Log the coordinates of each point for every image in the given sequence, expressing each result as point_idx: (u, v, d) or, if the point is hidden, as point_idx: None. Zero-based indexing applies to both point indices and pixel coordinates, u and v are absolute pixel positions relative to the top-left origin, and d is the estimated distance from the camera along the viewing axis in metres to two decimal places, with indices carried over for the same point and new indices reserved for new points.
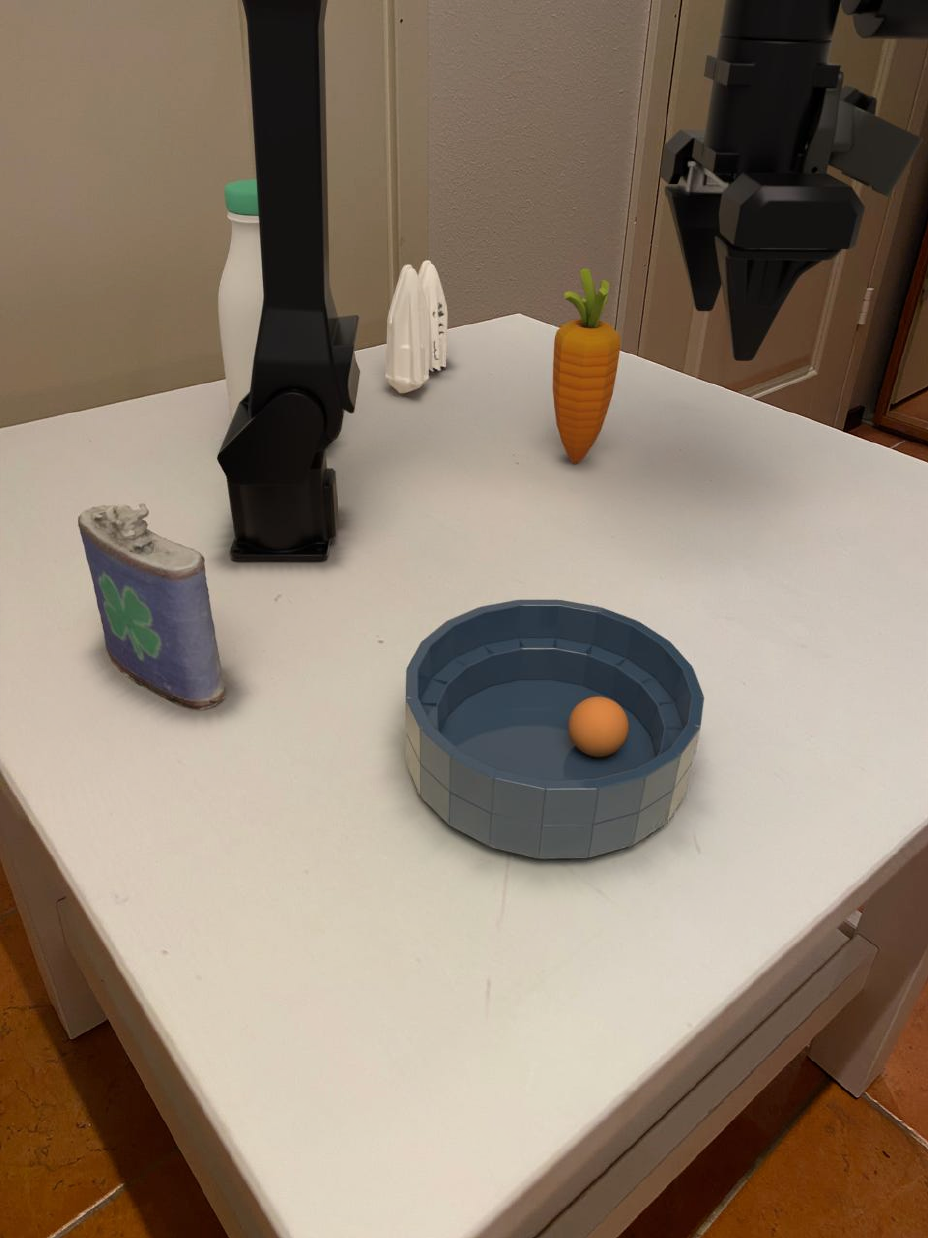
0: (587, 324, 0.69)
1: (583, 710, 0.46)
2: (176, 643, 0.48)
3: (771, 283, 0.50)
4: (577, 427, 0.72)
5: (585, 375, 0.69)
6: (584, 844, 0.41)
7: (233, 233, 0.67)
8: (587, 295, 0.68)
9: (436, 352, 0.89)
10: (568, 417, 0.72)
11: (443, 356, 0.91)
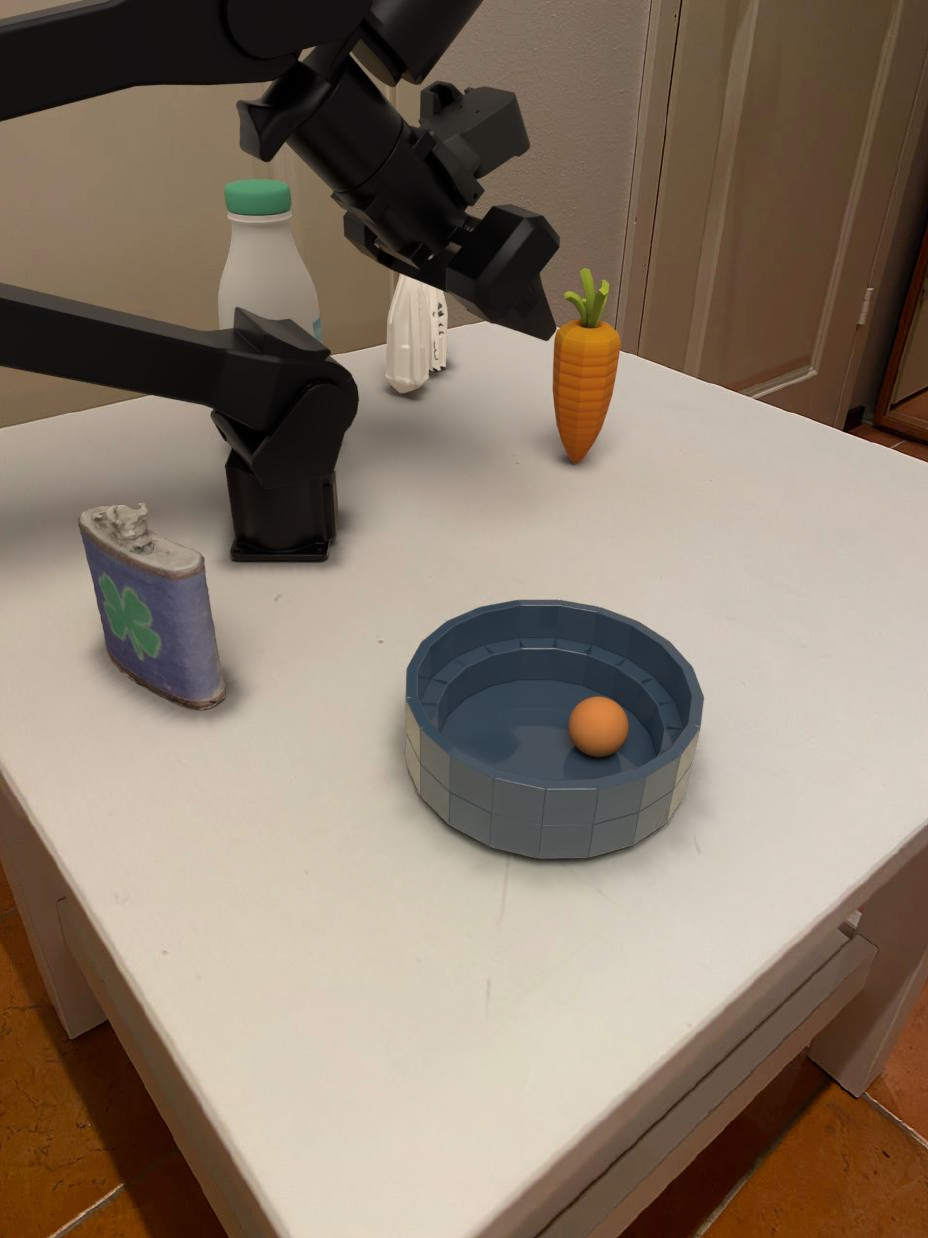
0: (587, 324, 0.69)
1: (583, 710, 0.46)
2: (176, 643, 0.48)
3: (526, 291, 0.58)
4: (577, 427, 0.72)
5: (585, 375, 0.69)
6: (584, 844, 0.41)
7: (233, 233, 0.67)
8: (587, 295, 0.68)
9: (436, 352, 0.89)
10: (568, 417, 0.72)
11: (443, 356, 0.91)
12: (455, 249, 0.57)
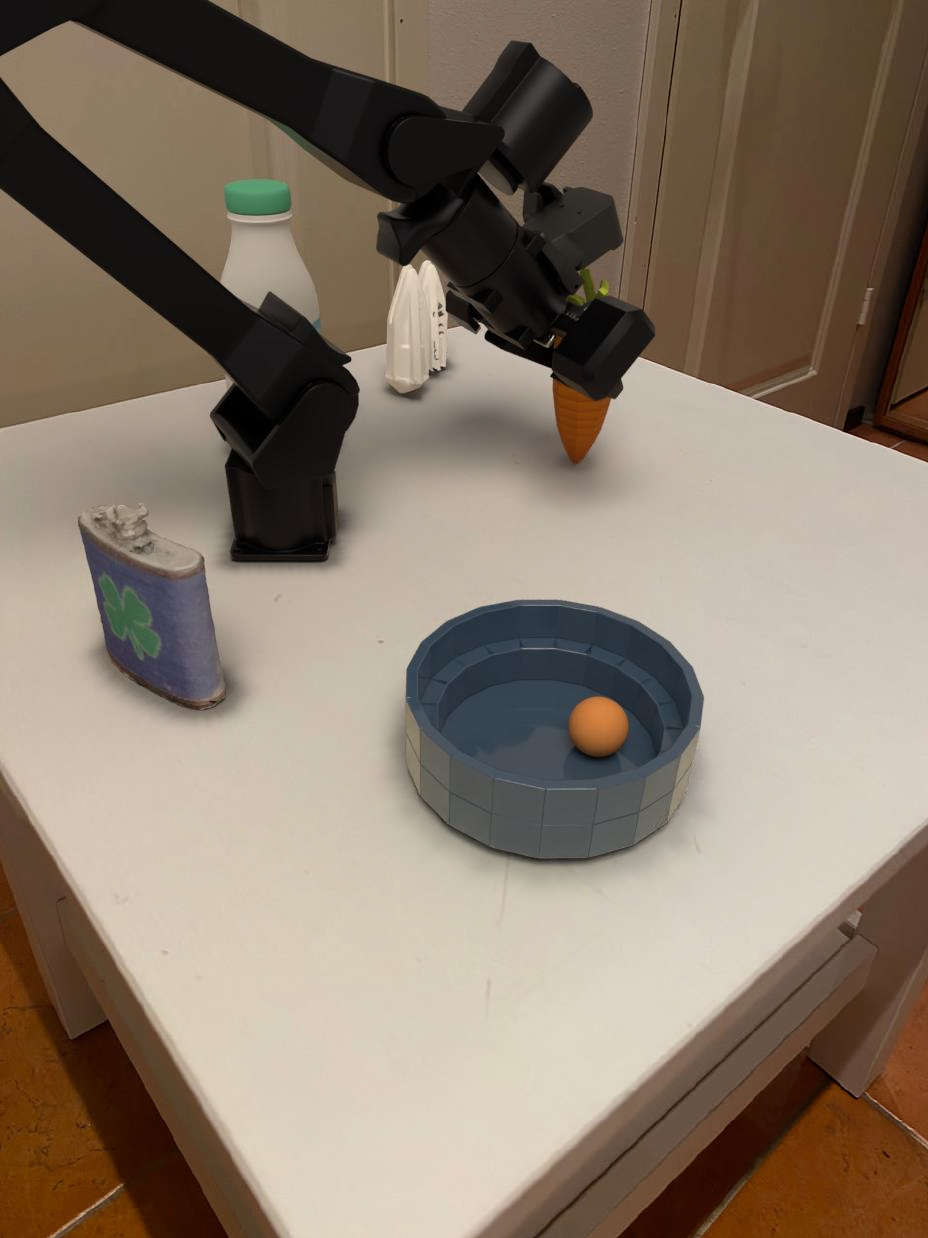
0: None
1: (583, 710, 0.46)
2: (176, 643, 0.48)
3: None
4: (577, 427, 0.72)
5: None
6: (584, 844, 0.41)
7: (233, 233, 0.67)
8: (587, 295, 0.68)
9: (436, 352, 0.89)
10: (568, 417, 0.72)
11: (443, 356, 0.91)
12: (556, 332, 0.64)
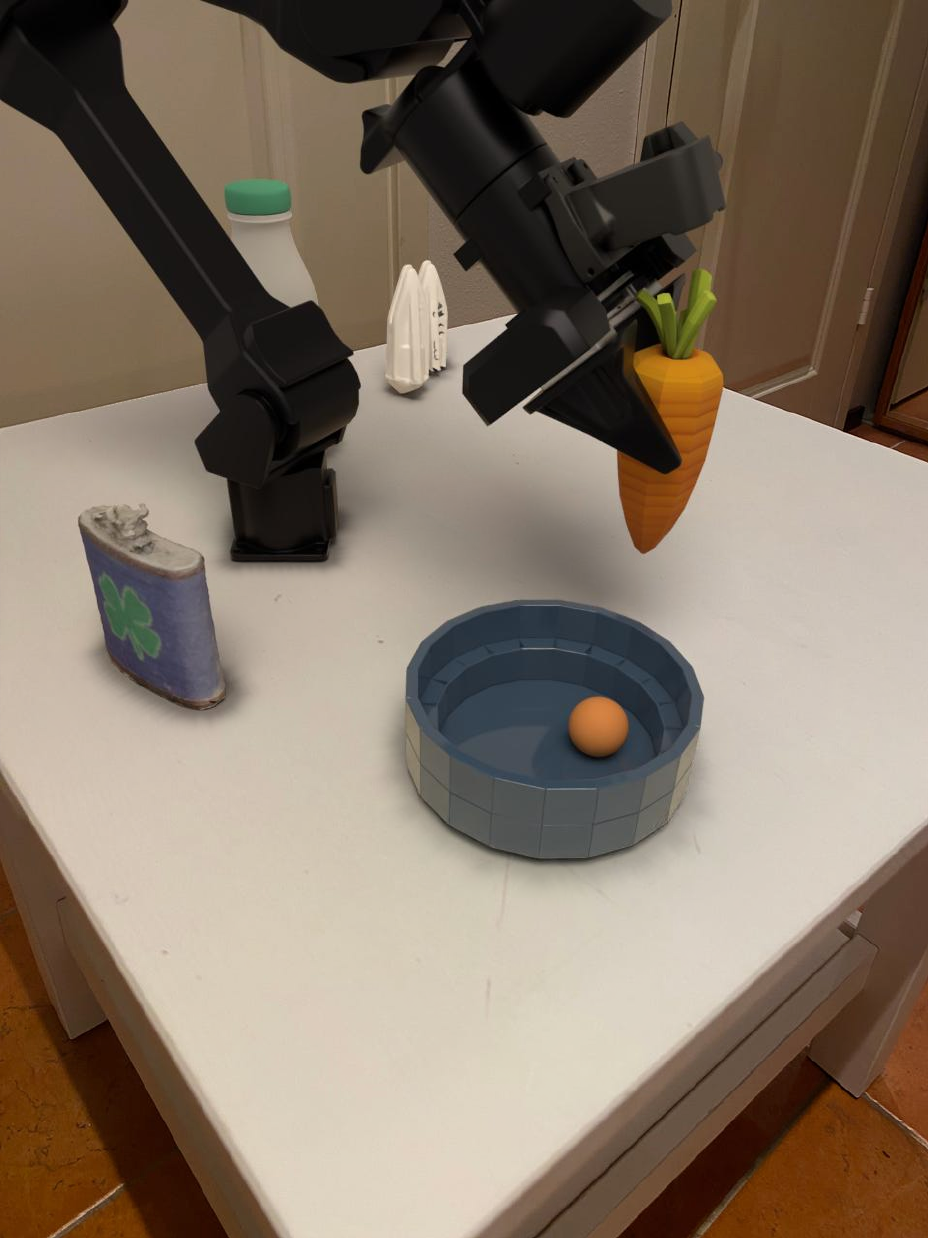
0: None
1: (583, 710, 0.46)
2: (176, 643, 0.48)
3: (615, 396, 0.43)
4: (622, 495, 0.49)
5: None
6: (584, 844, 0.41)
7: (233, 233, 0.67)
8: (687, 309, 0.44)
9: (436, 352, 0.89)
10: (619, 477, 0.49)
11: (443, 356, 0.91)
12: None
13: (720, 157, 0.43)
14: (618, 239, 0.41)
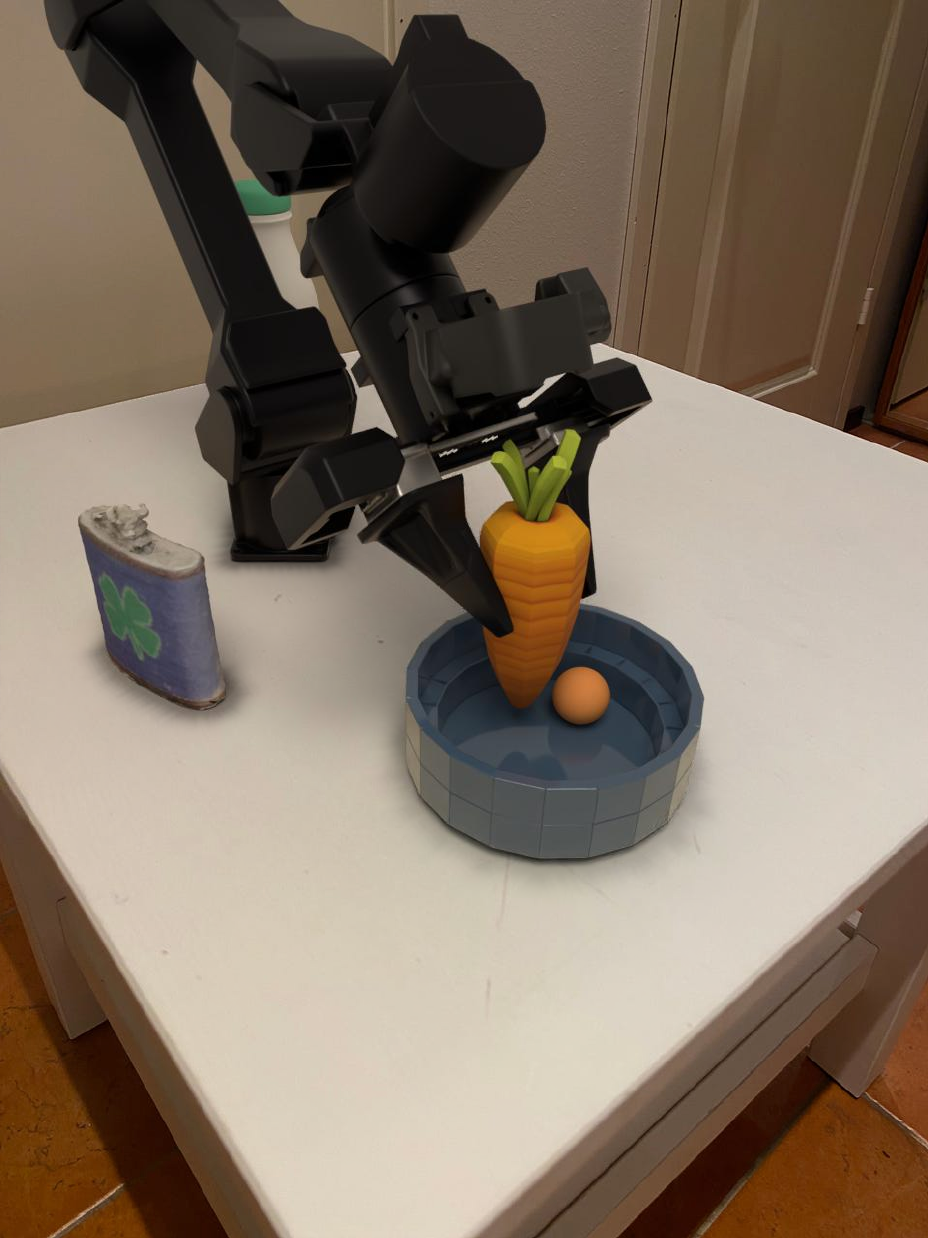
0: None
1: None
2: (176, 643, 0.48)
3: (444, 546, 0.41)
4: (486, 644, 0.45)
5: None
6: (584, 844, 0.41)
7: None
8: None
9: None
10: None
11: None
12: None
13: (604, 314, 0.38)
14: (455, 388, 0.38)
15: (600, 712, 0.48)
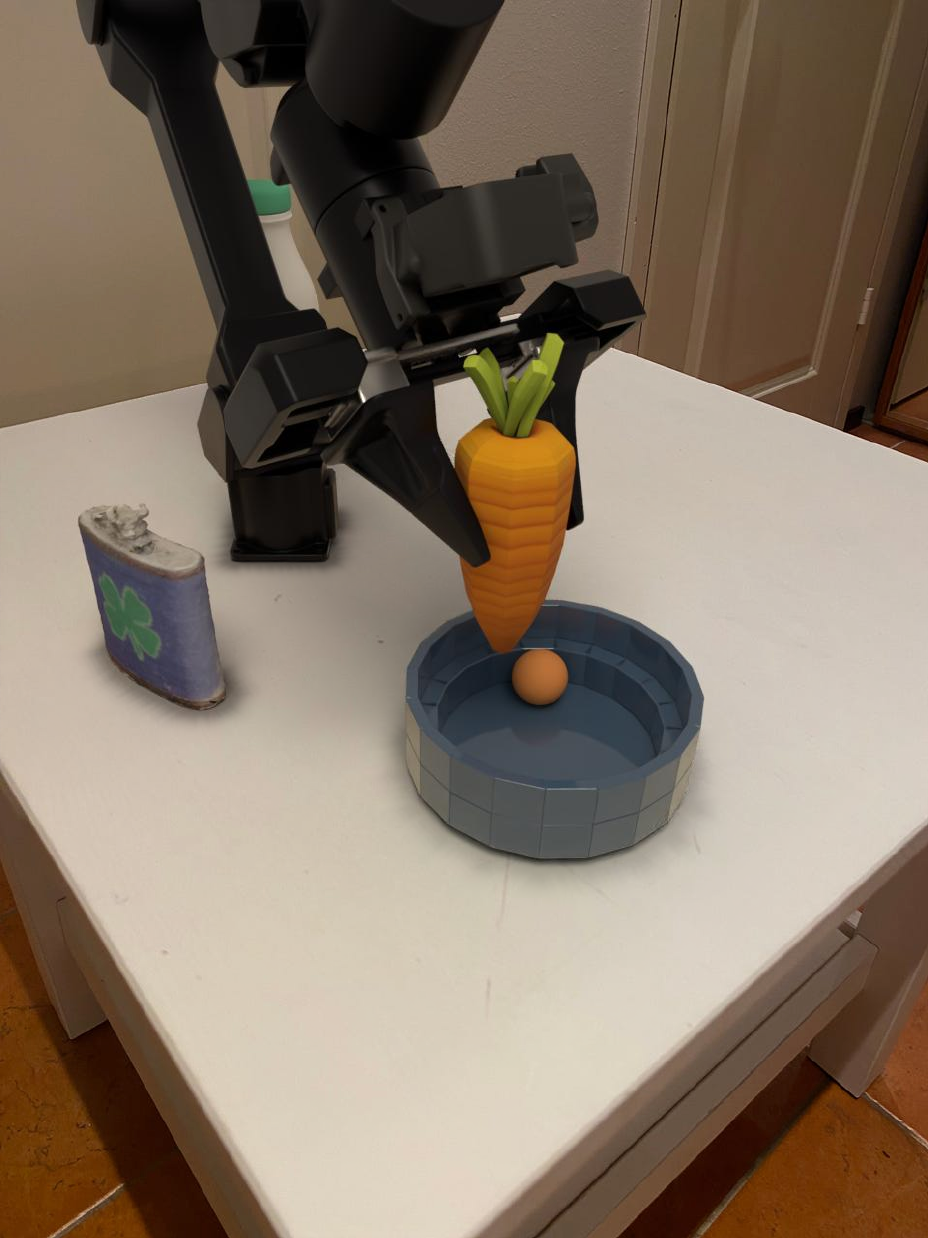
0: None
1: None
2: (176, 643, 0.48)
3: (414, 464, 0.37)
4: (464, 581, 0.42)
5: None
6: (584, 844, 0.41)
7: None
8: None
9: None
10: None
11: None
12: None
13: (589, 200, 0.34)
14: (425, 284, 0.35)
15: (536, 659, 0.49)
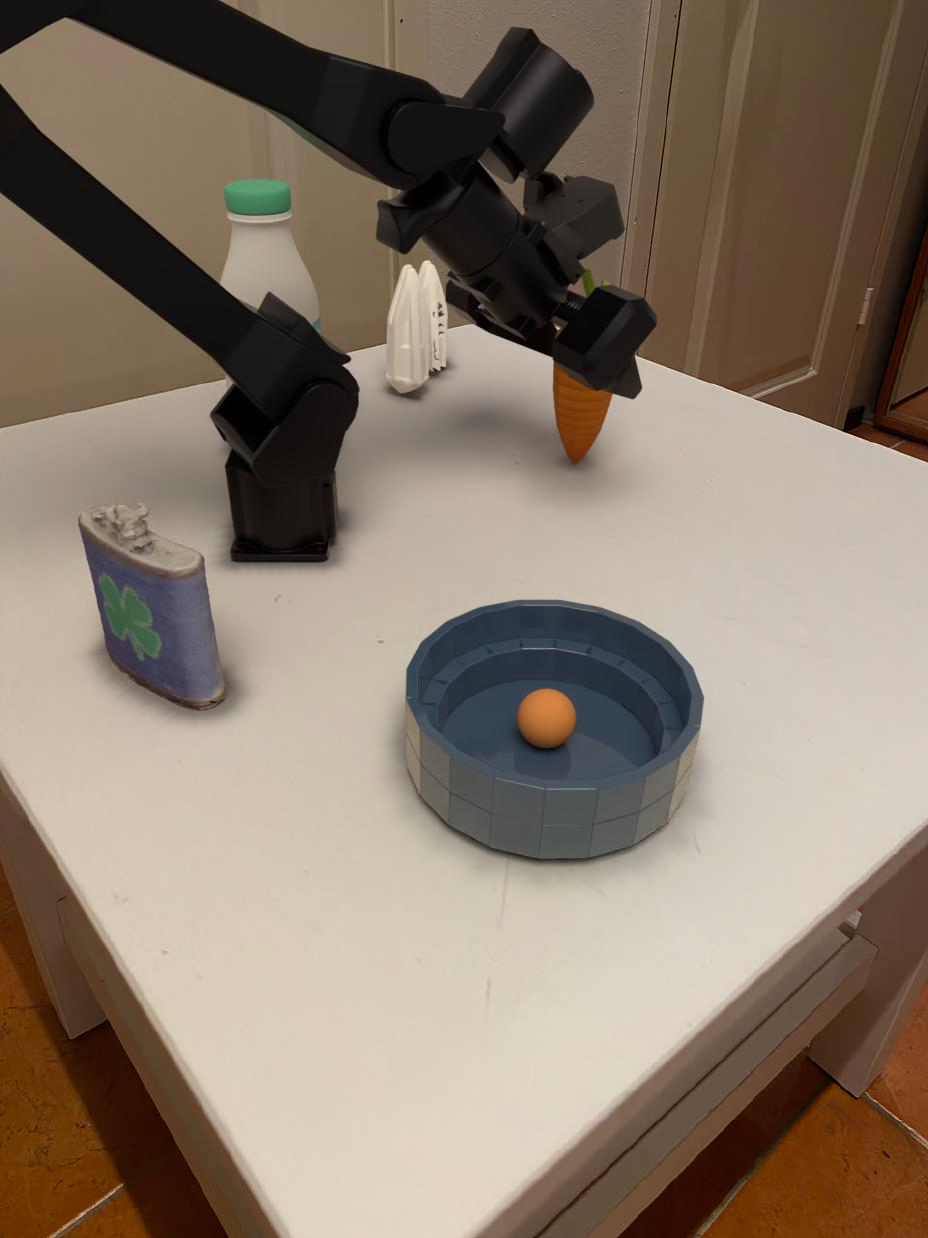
0: None
1: (561, 693, 0.47)
2: (176, 643, 0.48)
3: None
4: (577, 428, 0.72)
5: None
6: (584, 844, 0.41)
7: (233, 233, 0.67)
8: (588, 295, 0.68)
9: (436, 352, 0.89)
10: (568, 417, 0.72)
11: (443, 356, 0.91)
12: (557, 321, 0.64)
13: None
14: (586, 251, 0.63)
15: (540, 747, 0.47)
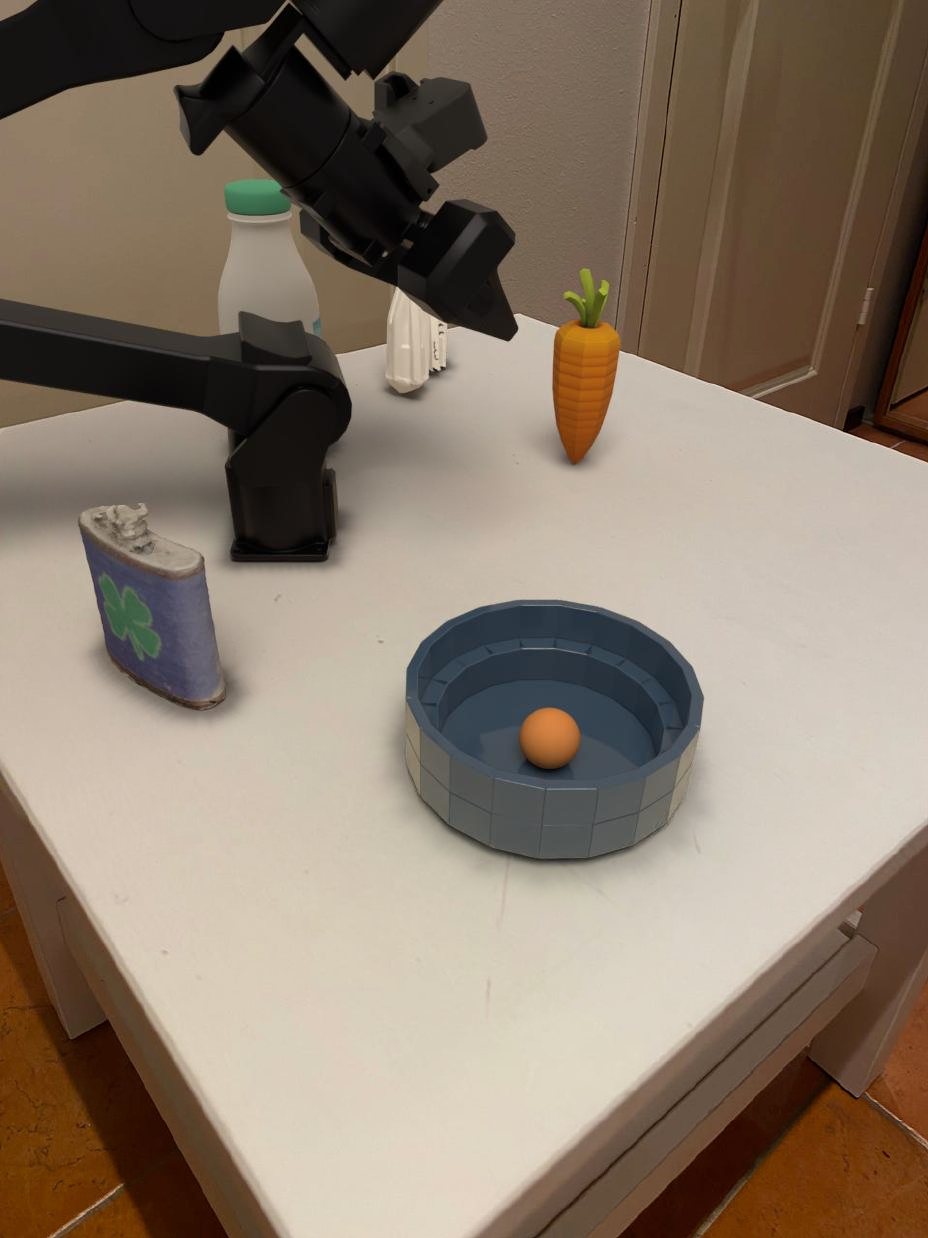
0: (587, 324, 0.69)
1: (568, 725, 0.45)
2: (176, 643, 0.48)
3: (484, 290, 0.56)
4: (577, 428, 0.72)
5: (584, 375, 0.69)
6: (584, 844, 0.41)
7: (233, 233, 0.67)
8: (587, 295, 0.68)
9: (436, 352, 0.89)
10: (568, 417, 0.72)
11: (443, 356, 0.91)
12: (410, 246, 0.55)
13: None
14: (439, 162, 0.54)
15: None
